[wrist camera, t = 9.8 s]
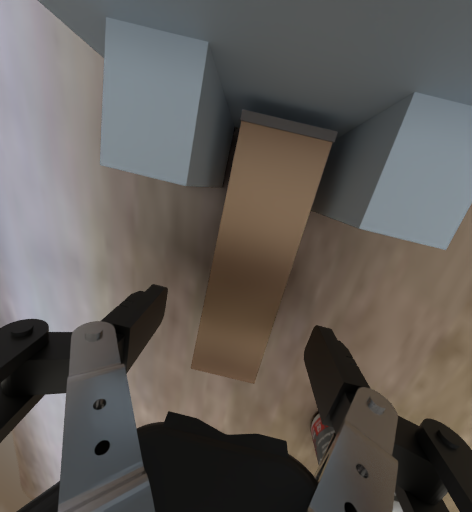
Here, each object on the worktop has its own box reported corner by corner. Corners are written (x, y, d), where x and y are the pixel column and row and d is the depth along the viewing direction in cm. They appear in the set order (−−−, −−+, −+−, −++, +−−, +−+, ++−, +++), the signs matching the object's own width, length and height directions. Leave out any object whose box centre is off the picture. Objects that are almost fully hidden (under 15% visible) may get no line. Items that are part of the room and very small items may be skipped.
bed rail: (246, 139, 15) (242, 109, 9) (305, 153, 15) (338, 131, 9) (208, 314, 19) (189, 369, 13) (254, 325, 19) (254, 385, 13)
